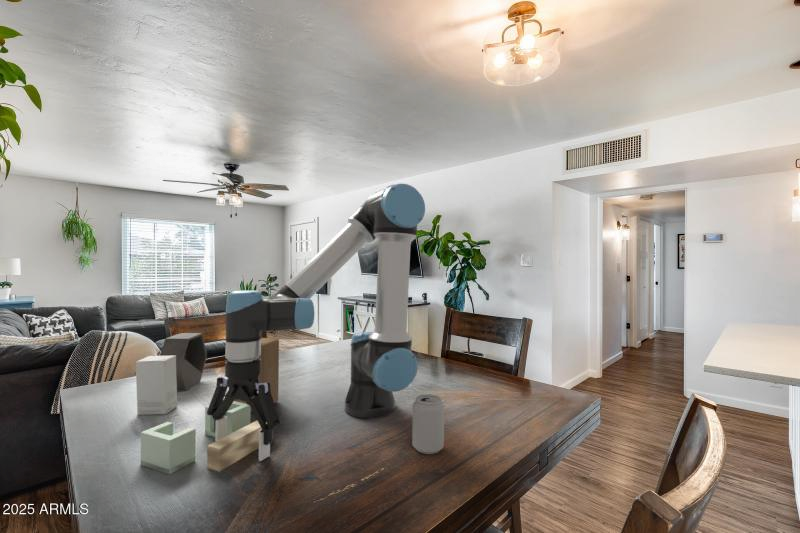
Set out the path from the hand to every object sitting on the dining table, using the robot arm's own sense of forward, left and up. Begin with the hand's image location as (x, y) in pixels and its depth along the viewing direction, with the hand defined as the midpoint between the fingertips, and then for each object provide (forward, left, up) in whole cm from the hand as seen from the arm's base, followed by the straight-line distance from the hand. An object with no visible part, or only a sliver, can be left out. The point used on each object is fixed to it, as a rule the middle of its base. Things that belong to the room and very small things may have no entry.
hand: (242, 452), depth 88 cm
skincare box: (+41, -8, 0) cm, 42 cm away
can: (-38, -20, 0) cm, 43 cm away
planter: (+55, -27, 0) cm, 61 cm away
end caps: (+11, +2, 0) cm, 11 cm away
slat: (0, 0, 0) cm, 0 cm away
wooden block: (+18, -23, 0) cm, 29 cm away
